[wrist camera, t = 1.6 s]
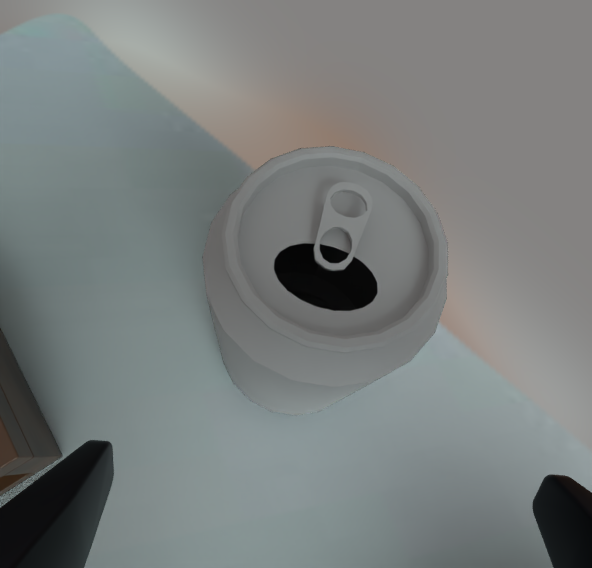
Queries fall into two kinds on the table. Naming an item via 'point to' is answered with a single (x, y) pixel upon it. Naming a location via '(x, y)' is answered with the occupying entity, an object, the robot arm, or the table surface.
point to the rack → (20, 426)
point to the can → (323, 277)
